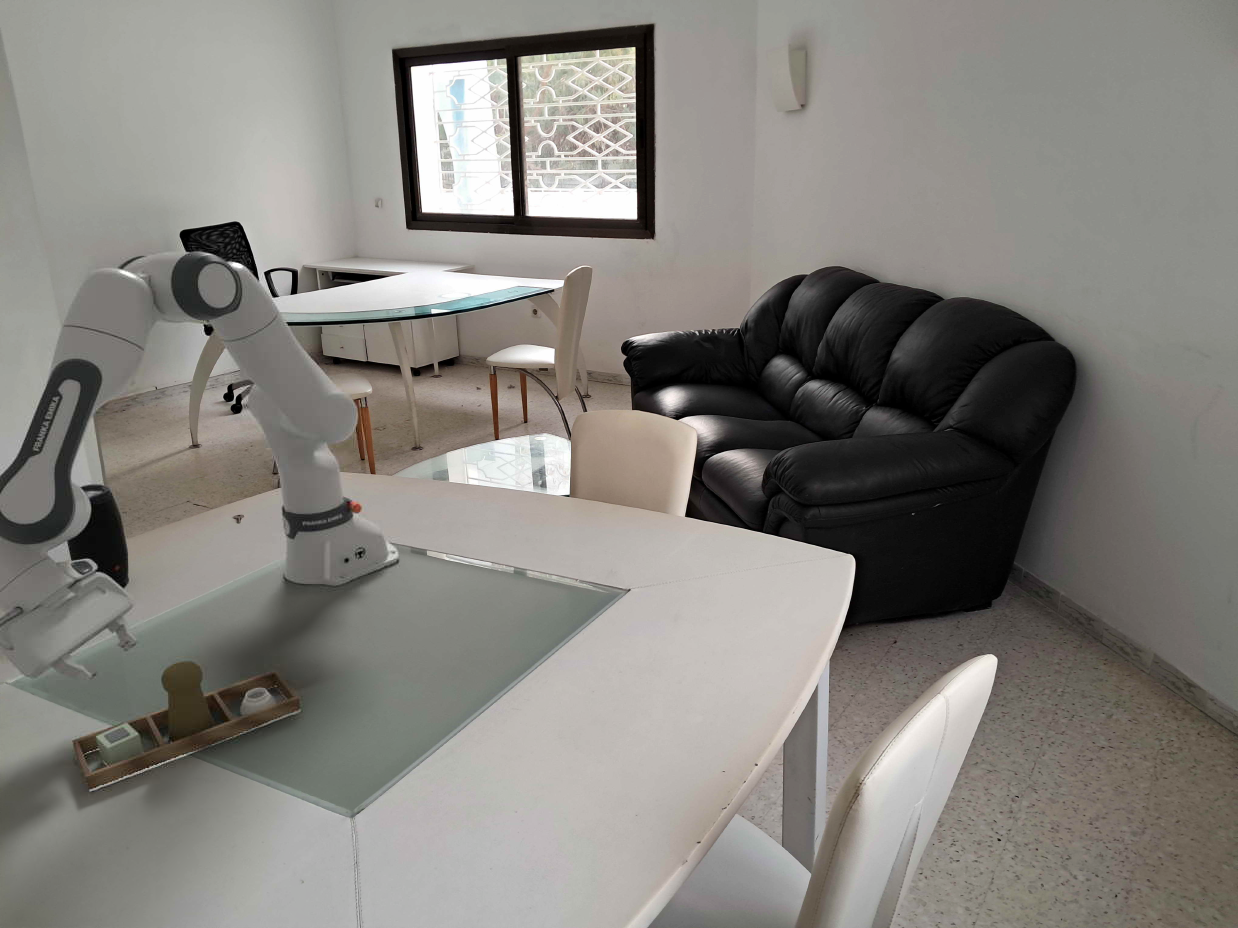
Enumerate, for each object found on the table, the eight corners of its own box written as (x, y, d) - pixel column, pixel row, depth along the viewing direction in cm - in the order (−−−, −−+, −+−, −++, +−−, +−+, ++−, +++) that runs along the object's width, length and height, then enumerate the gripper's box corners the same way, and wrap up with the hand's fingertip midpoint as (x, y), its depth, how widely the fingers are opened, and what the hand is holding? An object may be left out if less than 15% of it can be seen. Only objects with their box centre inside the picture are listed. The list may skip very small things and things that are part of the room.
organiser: (278, 683, 138) (276, 669, 137) (301, 711, 131) (299, 697, 130) (75, 755, 121) (72, 740, 120) (89, 792, 114) (85, 776, 113)
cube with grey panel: (131, 746, 123) (126, 721, 122) (144, 758, 121) (138, 733, 119) (101, 760, 120) (95, 735, 119) (113, 773, 118) (107, 747, 116)
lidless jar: (283, 708, 132) (264, 696, 135) (280, 691, 131) (262, 679, 134) (252, 724, 128) (234, 711, 131) (249, 707, 127) (231, 694, 130)
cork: (197, 748, 122) (185, 681, 119) (159, 743, 124) (146, 676, 120) (224, 722, 128) (213, 657, 124) (187, 717, 129) (175, 653, 126)
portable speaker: (138, 585, 169) (120, 491, 162) (84, 601, 163) (62, 504, 156) (126, 570, 175) (108, 479, 168) (73, 585, 169) (52, 491, 162)
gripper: (-5, 613, 112) (77, 687, 115) (98, 554, 132) (166, 618, 134) (-33, 641, 114) (49, 714, 116) (73, 579, 134) (141, 642, 136)
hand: (112, 662), depth 125 cm, fingers open, 8 cm apart
